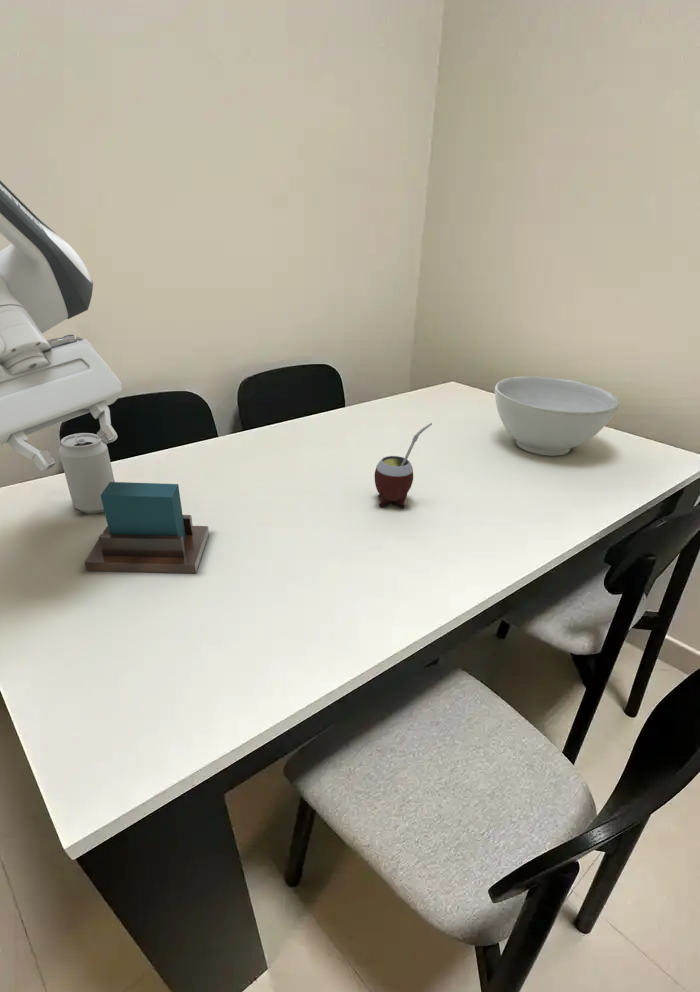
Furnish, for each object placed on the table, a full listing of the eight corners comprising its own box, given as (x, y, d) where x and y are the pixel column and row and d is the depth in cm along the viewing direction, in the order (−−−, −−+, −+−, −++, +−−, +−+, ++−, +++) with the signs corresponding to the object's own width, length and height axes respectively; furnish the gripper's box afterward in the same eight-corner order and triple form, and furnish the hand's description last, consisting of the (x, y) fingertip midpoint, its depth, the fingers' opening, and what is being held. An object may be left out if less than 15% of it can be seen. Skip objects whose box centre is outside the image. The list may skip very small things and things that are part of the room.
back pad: (113, 549, 88) (100, 494, 82) (121, 535, 91) (109, 481, 86) (180, 551, 88) (171, 497, 83) (185, 537, 92) (178, 483, 86)
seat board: (86, 570, 86) (79, 544, 83) (110, 531, 95) (104, 506, 92) (196, 573, 86) (192, 547, 84) (209, 534, 96) (206, 509, 93)
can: (81, 519, 98) (63, 450, 91) (68, 502, 102) (50, 435, 95) (125, 508, 101) (111, 441, 94) (111, 492, 106) (96, 427, 99)
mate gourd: (364, 501, 108) (370, 420, 99) (392, 489, 113) (400, 411, 104) (394, 515, 104) (403, 432, 95) (422, 502, 109) (433, 423, 100)
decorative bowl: (477, 423, 147) (487, 372, 139) (583, 429, 147) (598, 379, 139) (494, 464, 125) (506, 407, 118) (618, 472, 125) (638, 416, 118)
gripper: (74, 344, 79) (135, 436, 82) (-80, 386, 65) (1, 494, 69) (89, 318, 74) (154, 416, 78) (-73, 358, 61) (14, 474, 64)
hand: (81, 453), depth 73 cm, fingers open, 8 cm apart
